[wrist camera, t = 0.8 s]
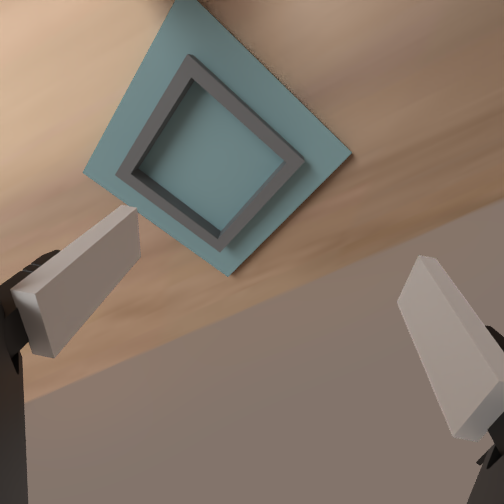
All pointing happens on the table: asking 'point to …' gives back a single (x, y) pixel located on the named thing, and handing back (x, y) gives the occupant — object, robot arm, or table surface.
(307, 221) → the table surface
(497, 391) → the robot arm
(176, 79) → the glass holder
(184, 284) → the table surface
